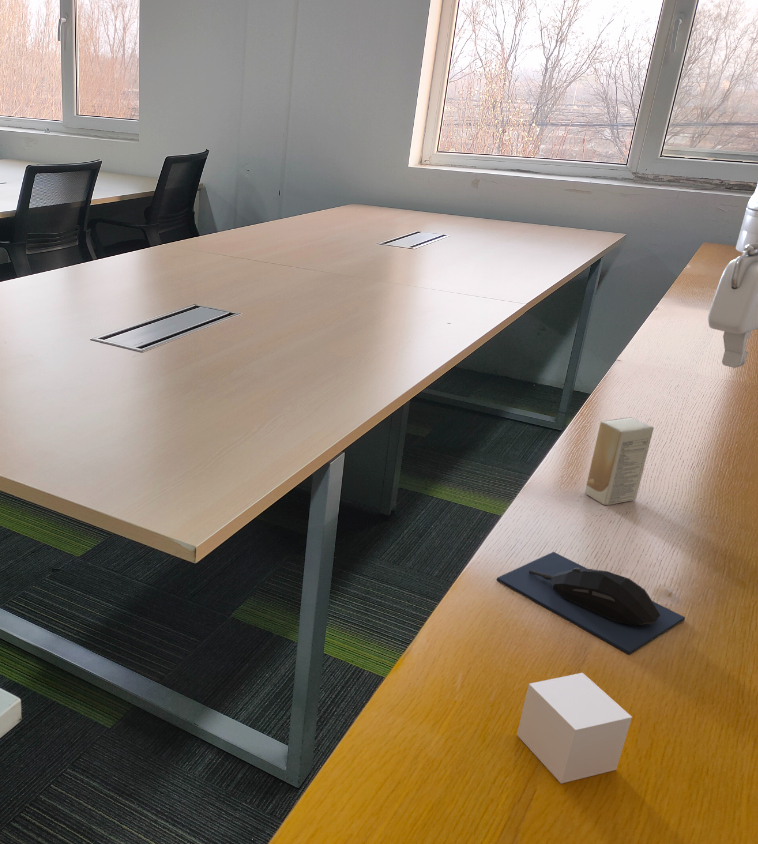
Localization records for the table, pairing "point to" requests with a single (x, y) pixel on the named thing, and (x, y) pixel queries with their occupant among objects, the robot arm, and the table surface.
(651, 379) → the table surface
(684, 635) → the table surface
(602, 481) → the cosmetic box
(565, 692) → the white cube
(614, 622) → the mouse pad
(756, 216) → the robot arm
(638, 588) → the gaming mouse
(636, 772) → the table surface
